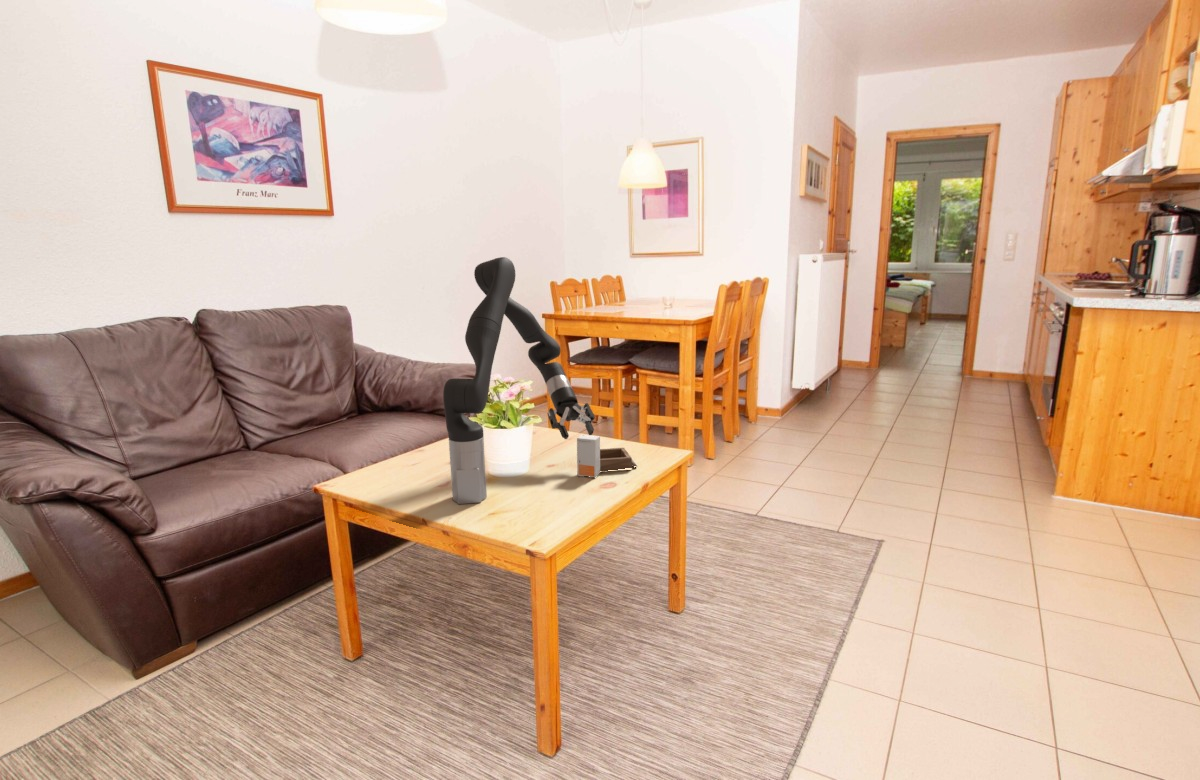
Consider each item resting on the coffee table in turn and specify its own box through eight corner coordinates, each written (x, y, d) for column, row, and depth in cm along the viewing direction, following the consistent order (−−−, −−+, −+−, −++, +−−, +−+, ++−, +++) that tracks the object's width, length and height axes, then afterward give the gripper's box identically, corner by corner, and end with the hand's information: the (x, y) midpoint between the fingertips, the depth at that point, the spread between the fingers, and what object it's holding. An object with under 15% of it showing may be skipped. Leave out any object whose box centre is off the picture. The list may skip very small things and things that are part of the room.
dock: (638, 469, 194) (638, 457, 193) (596, 472, 192) (596, 460, 191) (630, 458, 204) (630, 447, 204) (590, 461, 202) (590, 449, 201)
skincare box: (577, 476, 189) (576, 438, 186) (582, 471, 193) (581, 434, 190) (596, 478, 187) (595, 439, 184) (600, 474, 191) (600, 435, 188)
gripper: (544, 388, 193) (562, 432, 186) (584, 383, 200) (603, 425, 193) (537, 402, 199) (554, 445, 192) (577, 396, 206) (595, 438, 199)
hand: (579, 435), depth 192 cm, fingers open, 8 cm apart
